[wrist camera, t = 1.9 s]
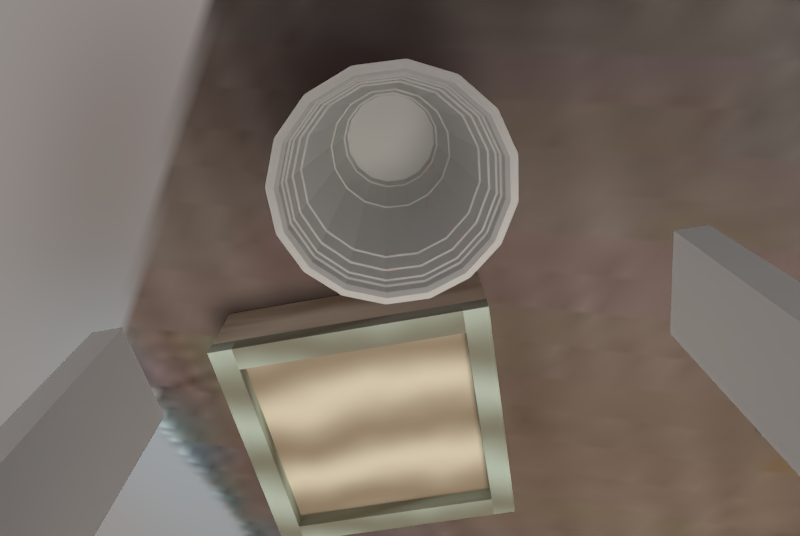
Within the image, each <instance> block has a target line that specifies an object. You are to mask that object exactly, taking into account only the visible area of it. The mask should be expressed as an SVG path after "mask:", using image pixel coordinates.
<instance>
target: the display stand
mask: <svg viewBox="0 0 800 536" xmlns="http://www.w3.org/2000/svg"><path fill="white" fill-rule="evenodd" d="M207 354H208V356H209V359H210V361H211V364H212V366H213V369H214V371H215V374H216V376H217V378H218V381H219V383H220V386H221V388H222V391H223V393H224V396H225V398H226V401H227V403H228V406H229V408H230V410H231V413H232V415H233V418H234V420H235V423H236V425H237V428H238V430H239V433H240V435H241V438H242V440H243V443H244V445H245V447H246V450H247V452H248V455H249V457H250V460H251V462H252V465H253V467H254V470H255V472H256V475H257V477H258V479H259V482H260V484H261V487H262V489H263V492H264V494H265V497H266V499H267V502H268V504H269V507H270V509H271V512H272V514H273V516H274V519H275V521H276V524H277V526H278V529H279V531H280V534H281V536H342V535H349V534H356V533H363V532H370V531H377V530H385V529H392V528H399V527H406V526H413V525H420V524H427V523H434V522H442V521H449V520H456V519H463V518H470V517H477V516H484V515H491V514H499V513H506V512H513V511H515V508H514V500H513V492H512V484H511V476H510V469H509V461H508V453H507V445H506V437H505V430H504V422H503V414H502V406H501V398H500V390H499V383H498V375H497V367H496V359H495V351H494V344H493V336H492V328H491V320H490V312H489V306H488V303H487V300H486V297H485V294H484V291H483V288H482V285H481V283H480V280H479V277H478V274H477V272H475V273H474V274H473V275H472V276H471V277H470V278H469V279H467V280H465V281H463V282H461V283H459V284H457V285H455V286H453V287H451V288H449V289H447V290H445V291H444V292H442V293H440V294H438V295H436V296H434V297H432V298H429V299H422V300H415V301H408V302H401V303H393V304H381V303H376V302H371V301H366V300H361V299H356V298H352V297H347V296H342V295H338V296H332V297H326V298H320V299H314V300H308V301H303V302H297V303H291V304H285V305H279V306H273V307H267V308H261V309H256V310H250V311H244V312H238V313H232V314H229V316H228V317H227V319H226V321H225V323H224V325H223V326H222V328H221V330H220V332H219V333H218V335H217V337H216V339H215V341H214V342H213V344H212V346H211V348H210V349H209V351H208V353H207Z"/></svg>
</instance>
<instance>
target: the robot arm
mask: <svg viewBox="0 0 800 536" xmlns="http://www.w3.org/2000/svg"><path fill="white" fill-rule="evenodd" d="M670 334H671V335H672V336H673V337H674V338H675V339H676V340H677V341H678V342H679V344H680V345H681V346H682V347H683V348H684V349H685V350H686V351H687V352H688V354H689V355H690V356H691V357H692V358H693V359H694V360H695V361H696V362H697V363H698V365H699V366H700V367H701V368H702V369H703V370H704V371H705V372H706V373H707V375H708V376H709V377H710V378H711V379H712V380H713V381H714V382H715V383H716V384H717V386H718V387H719V388H720V389H721V390H722V391H723V392H724V393H725V394H726V395H727V397H728V398H729V399H730V400H731V401H732V402H733V403H734V404H735V405H736V407H737V408H738V409H739V410H740V411H741V412H742V413H743V414H744V415H745V416H746V418H747V419H748V420H749V421H750V422H751V423H752V424H753V425H754V426H755V428H756V429H757V430H758V431H759V432H760V433H761V434H762V435H763V436H764V437H765V439H766V440H767V441H768V442H769V443H770V444H771V445H772V446H773V447H774V448H775V450H776V451H777V452H778V453H779V454H780V455H781V456H782V457H783V458H784V460H785V461H786V462H787V463H788V464H789V465H790V466H791V467H792V468H793V469H794V471H795V472H796V473H797V474H798V475H799V476H800V282H799V281H797V280H796V279H794V278H793V277H791V276H789V275H788V274H786V273H785V272H783V271H782V270H780V269H778V268H777V267H775V266H774V265H772V264H770V263H769V262H767V261H766V260H764V259H762V258H761V257H759V256H758V255H756V254H754V253H753V252H751V251H750V250H748V249H746V248H745V247H743V246H742V245H740V244H738V243H737V242H735V241H734V240H732V239H731V238H729V237H727V236H726V235H724V234H723V233H721V232H719V231H718V230H716V229H715V228H713V227H711V226H710V225H704V226H699V227H693V228H687V229H681V230H676V231H674V243H673V271H672V299H671V327H670ZM163 417H164V414H163V412H162V410H161V408H160V406H159V404H158V402H157V399H156V397H155V395H154V393H153V391H152V389H151V387H150V385H149V383H148V381H147V379H146V377H145V375H144V372H143V370H142V368H141V366H140V364H139V362H138V360H137V358H136V356H135V354H134V352H133V350H132V347H131V345H130V343H129V341H128V339H127V337H126V335H125V333H124V331H123V329H122V328H116V329H111V330H105V331H100V332H93V333H91V334H90V335H89V336H88V338H86V339H85V340H84V341H83V343H82V344H81V345H80V346H79V347H78V348H77V349H76V350H75V351H74V352H73V353H72V354H71V355H70V356H69V357H68V358H67V359H66V360H65V361H64V362H63V363H62V364H61V365H60V366H59V367H58V368H57V369H56V370H55V371H54V372H53V373H52V374H51V375H50V377H48V378H47V380H45V382H43V384H41V385H40V387H38V389H37V390H36V391H35V392H34V393H33V394H32V395H31V396H30V397H29V398H28V399H27V400H26V401H25V402H24V403H23V404H22V405H21V406H20V407H19V408H18V409H17V410H16V411H15V412H14V413H13V414H12V415H11V416H10V417H9V418H8V419H7V421H5V422H4V423H3V424H2V425H1V427H0V536H94V535H95V534H96V532H97V530H98V528H99V527H100V525H101V523H102V522H103V520H104V518H105V516H106V515H107V513H108V511H109V510H110V508H111V506H112V504H113V503H114V501H115V499H116V498H117V496H118V494H119V492H120V491H121V489H122V487H123V486H124V484H125V482H126V480H127V479H128V477H129V475H130V474H131V472H132V470H133V469H134V467H135V465H136V463H137V462H138V460H139V458H140V457H141V455H142V453H143V451H144V450H145V448H146V446H147V445H148V443H149V441H150V439H151V438H152V436H153V434H154V433H155V431H156V429H157V427H158V426H159V424H160V422H161V421H162V419H163Z"/></svg>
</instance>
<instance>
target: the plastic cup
mask: <svg viewBox="0 0 800 536" xmlns="http://www.w3.org/2000/svg"><path fill="white" fill-rule="evenodd" d="M265 190H266V195H267V199H268V203H269V207H270V211H271V215H272V219H273V224H274V228H275V232H276V235H277V236H278V238H279V239H280V240H281V242H282V243H283V244H284V246H285V247H286V249H287V250H288V251H289V253H290V254H291V255H292V257H293V258H294V259H295V261H296V262H297V263H298V265H299V266H300V267H301V269H302V270H303V272H305V273H307V274H308V275H310V276H311V277H313V278H315V279H316V280H318V281H319V282H321V283H323V284H324V285H326V286H327V287H329V288H331V289H332V290H334V291H335V292H337V293H339V294H340V295H342V296H347V297H352V298H356V299H361V300H366V301H371V302H376V303H381V304H393V303H401V302H408V301H415V300H422V299H429V298H432V297H434V296H436V295H438V294H440V293H442V292H444V291H445V290H447V289H449V288H451V287H453V286H455V285H457V284H459V283H461V282H463V281H465V280H467V279H469V278H470V277H471V276H472V275H473V274H474V273H475V272H476V271H477V270H478V269H479V268H480V267H481V266H482V265H483V263H484V262H485V261H486V260H487V259H488V258H489V257H490V256H491V255H492V254H493V253H494V252H495V251H496V249H497V248H498V247H499V246H500V245H501V244H502V241H503V239H504V236H505V234H506V231H507V229H508V226H509V224H510V221H511V219H512V216H513V214H514V211H515V209H516V207H517V204H518V202H519V197H518V152H517V150H516V148H515V146H514V143H513V141H512V139H511V137H510V135H509V132H508V130H507V128H506V126H505V123H504V121H503V119H502V117H501V114H500V112H499V110H498V108H497V107H495V106H494V105H493V104H492V103H491V102H490V101H489V100H487V99H486V98H485V97H484V96H483V95H482V94H481V93H480V92H478V91H477V90H476V89H475V88H474V87H473V86H472V85H470V84H469V83H468V82H467V81H466V80H465V79H464V78H463V77H461V76H460V75H459V74H456V73H453V72H450V71H446V70H443V69H440V68H437V67H433V66H430V65H427V64H423V63H420V62H417V61H413V60H410V59H407V58H406V59H399V60H391V61H383V62H375V63H367V64H360V65H352V66H350V67H348V68H347V69H345V70H343V71H342V72H340V73H338V74H337V75H335V76H333V77H332V78H330V79H328V80H327V81H325V82H324V83H322V84H320V85H319V86H317V87H315V88H314V89H312V90H310V91H309V92H307V93H306V94H304V95H303V97H302V98H301V100H300V101H299V102H298V104H297V105H296V107H295V108H294V110H293V111H292V113H291V114H290V116H289V117H288V118H287V120H286V121H285V123H284V124H283V126H282V127H281V129H280V130H279V132H278V133H277V134H276V136H275V137H274V141H273V146H272V152H271V157H270V163H269V168H268V174H267V179H266V184H265Z"/></svg>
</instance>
